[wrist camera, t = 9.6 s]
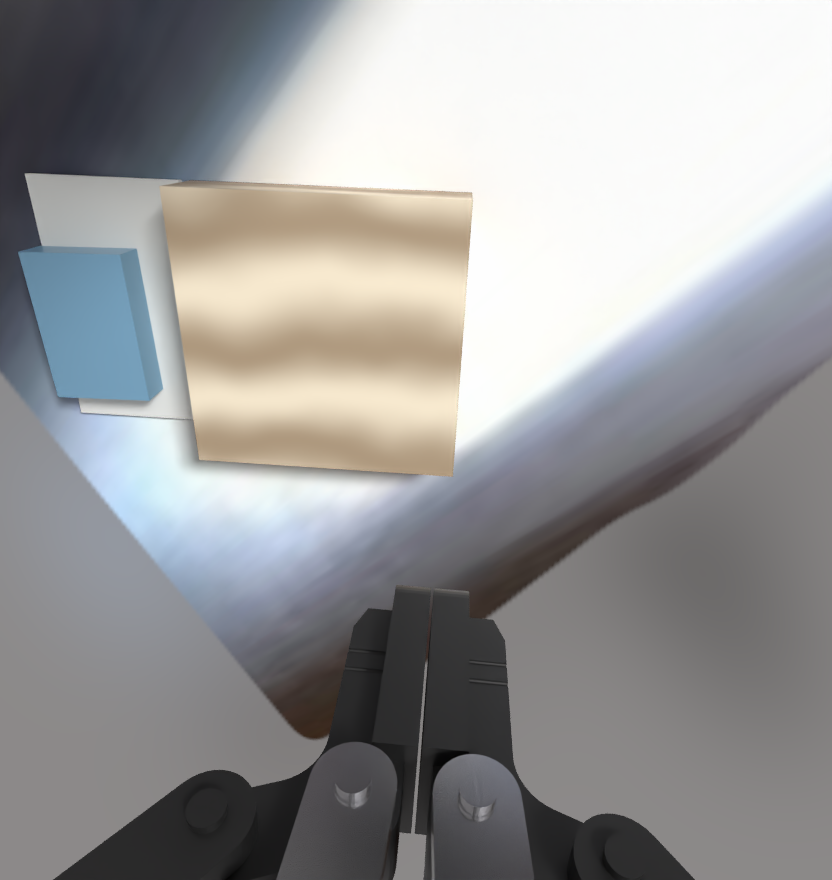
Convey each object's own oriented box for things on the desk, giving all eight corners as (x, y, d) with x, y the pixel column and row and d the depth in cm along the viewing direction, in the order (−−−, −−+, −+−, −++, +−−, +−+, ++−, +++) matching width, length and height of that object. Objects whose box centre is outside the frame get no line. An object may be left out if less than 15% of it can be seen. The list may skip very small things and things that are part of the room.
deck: (190, 180, 35) (159, 186, 31) (472, 192, 34) (472, 200, 30) (221, 431, 42) (199, 459, 38) (453, 446, 41) (452, 476, 38)
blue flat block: (119, 254, 34) (136, 248, 36) (18, 251, 35) (39, 245, 37) (149, 400, 39) (163, 388, 40) (58, 396, 39) (75, 385, 41)
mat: (29, 173, 35) (24, 173, 35) (181, 179, 35) (179, 180, 34) (84, 410, 42) (81, 412, 42) (212, 418, 42) (210, 420, 41)
